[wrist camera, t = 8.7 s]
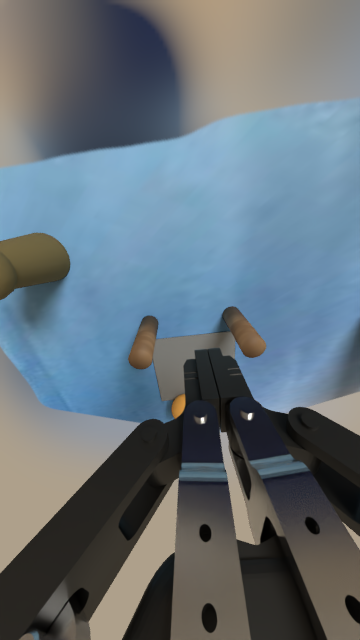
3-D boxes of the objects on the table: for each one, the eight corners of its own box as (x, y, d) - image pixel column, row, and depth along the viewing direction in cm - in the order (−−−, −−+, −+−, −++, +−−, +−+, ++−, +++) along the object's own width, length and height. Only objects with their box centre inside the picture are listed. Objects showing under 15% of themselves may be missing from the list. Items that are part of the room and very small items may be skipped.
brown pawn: (63, 288, 26) (-6, 325, 16) (17, 267, 24) (-92, 292, 14) (75, 249, 23) (3, 262, 13) (25, 222, 22) (-97, 215, 12)
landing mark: (235, 330, 29) (235, 331, 29) (233, 392, 35) (233, 393, 35) (149, 339, 30) (148, 340, 29) (161, 400, 36) (161, 400, 36)
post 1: (156, 314, 28) (149, 349, 20) (159, 329, 29) (153, 367, 21) (139, 316, 28) (125, 351, 20) (143, 331, 29) (131, 370, 21)
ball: (197, 428, 33) (194, 401, 37) (203, 417, 30) (199, 389, 34) (170, 428, 33) (170, 401, 37) (173, 417, 30) (172, 388, 33)
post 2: (239, 305, 27) (267, 336, 19) (239, 320, 29) (264, 356, 20) (222, 307, 27) (242, 339, 19) (222, 322, 29) (241, 358, 21)
